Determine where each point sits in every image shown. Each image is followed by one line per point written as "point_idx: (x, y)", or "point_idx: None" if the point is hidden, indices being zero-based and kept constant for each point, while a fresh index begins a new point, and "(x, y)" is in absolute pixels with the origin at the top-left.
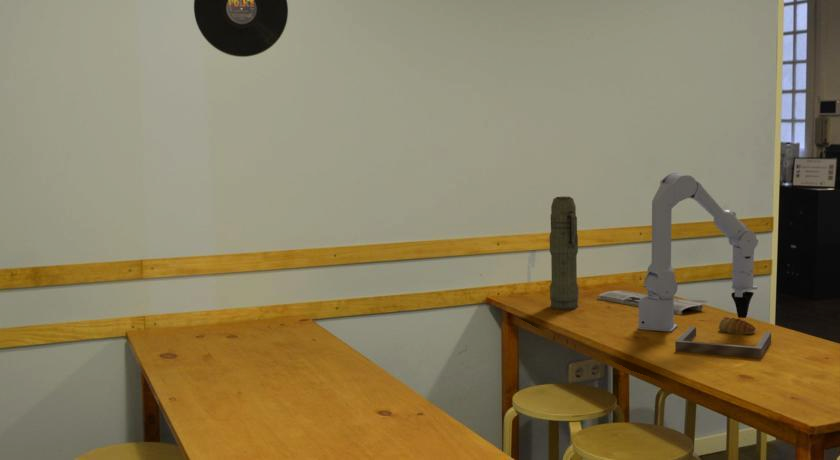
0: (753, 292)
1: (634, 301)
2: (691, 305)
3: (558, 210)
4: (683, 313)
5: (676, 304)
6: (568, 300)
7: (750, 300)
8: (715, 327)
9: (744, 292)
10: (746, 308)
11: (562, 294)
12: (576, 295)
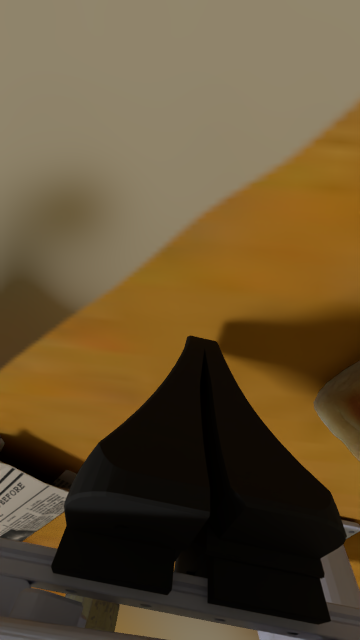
0: (107, 496)
1: (23, 539)
2: (34, 484)
3: None
4: (74, 473)
5: (34, 505)
6: (114, 604)
7: (147, 407)
8: (299, 432)
9: (290, 614)
10: (237, 390)
11: (114, 626)
12: (94, 611)
